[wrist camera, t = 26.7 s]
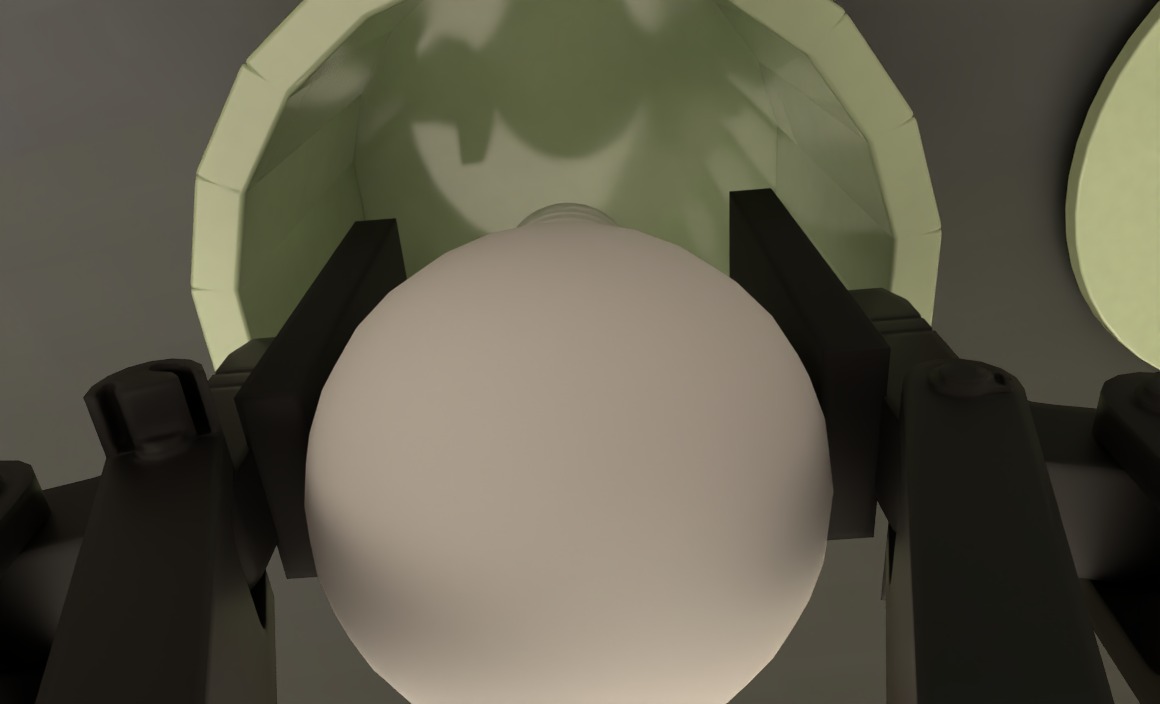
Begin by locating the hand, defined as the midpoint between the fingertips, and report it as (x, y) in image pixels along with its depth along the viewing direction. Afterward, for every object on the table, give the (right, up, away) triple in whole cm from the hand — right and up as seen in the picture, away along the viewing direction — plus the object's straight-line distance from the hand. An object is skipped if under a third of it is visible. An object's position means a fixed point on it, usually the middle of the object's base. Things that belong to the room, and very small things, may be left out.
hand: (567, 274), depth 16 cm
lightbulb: (0, +1, +1) cm, 2 cm away
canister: (0, +3, +7) cm, 8 cm away
